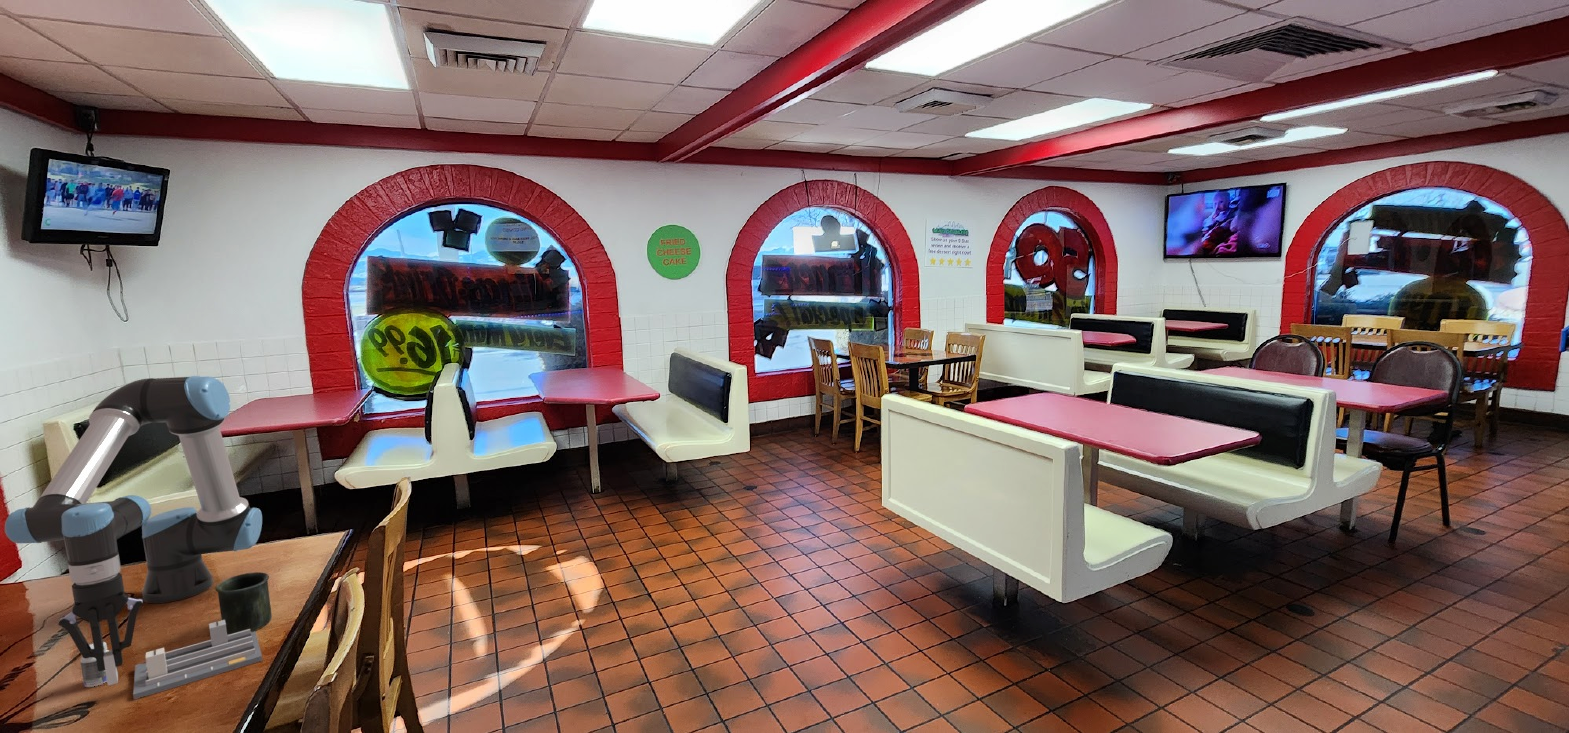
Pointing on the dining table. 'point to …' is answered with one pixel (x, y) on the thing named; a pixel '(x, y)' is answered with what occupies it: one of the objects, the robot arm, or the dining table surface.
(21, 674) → the dining table surface
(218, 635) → the console
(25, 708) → the dining table surface
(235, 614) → the mug
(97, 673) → the pill bottle
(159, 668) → the fader cap
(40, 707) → the dining table surface
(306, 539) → the dining table surface
